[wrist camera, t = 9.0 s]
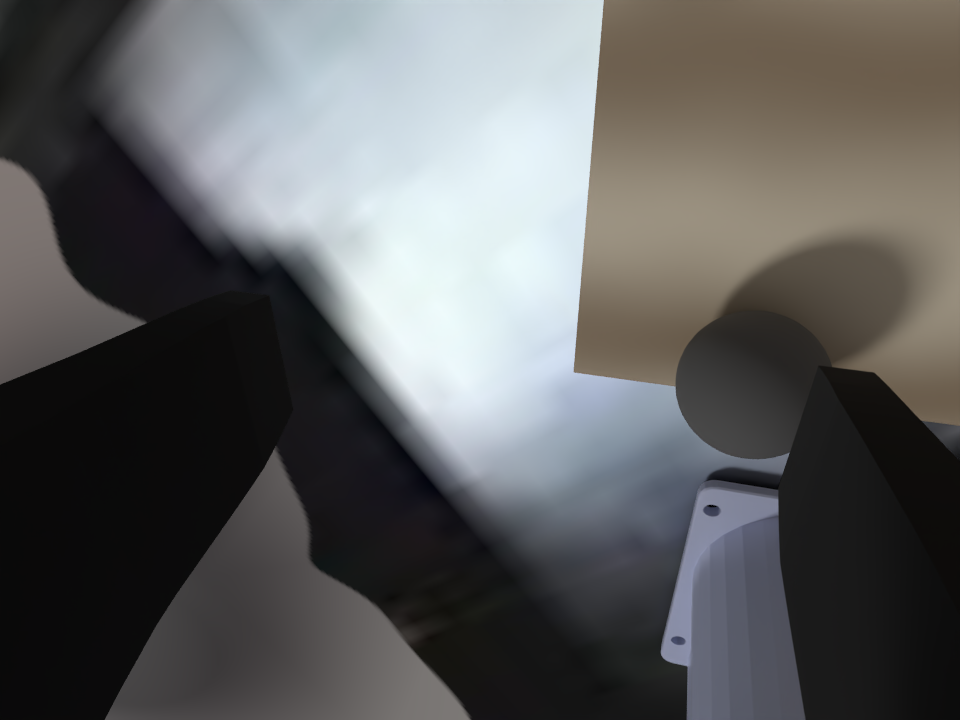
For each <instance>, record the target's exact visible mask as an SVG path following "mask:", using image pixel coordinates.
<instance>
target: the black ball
mask: <svg viewBox="0 0 960 720" xmlns="http://www.w3.org/2000/svg"><path fill="white" fill-rule="evenodd" d="M818 365H820V366H828V367H832V364H831V361H830V359H829V357H828V355H827V352H826V350H825V349H824V347H823V346H822V345H821V343H820V342H819V340H818V339H817V338H816V337H815V336H814V335H813V334H812V333H811V332H810V331H809V330H808V329H806V328H805V327H804V326H802V325H801V324H800V323H798V322H796V321H794V320H793V319H790V318H788V317H786V316H783V315H780V314H777V313H773V312H768V311H758V310H750V311H740V312H735V313H731V314H728V315H725V316H723V317H720V318H718V319H716V320H714V321H712V322H711V323H709V324H708V325H706V326H705V327H703V328H702V329H701V330H700V331H699V332H698V333H697V334H696V335H695V336H694V337H693V338H692V339H691V341H690V342H689V343H688V345H687V346H686V348H685V349H684V351H683V354H682V356H681V358H680V360H679V363H678V367H677V372H676V380H675V384H676V396H677V400H678V404H679V408H680V410H681V412H682V415H683V416H684V418H685V420H686V422H687V423H688V425H689V426H690V428H691V429H692V430H693V431H694V432H695V433H696V434H697V435H698V436H699V437H700V438H701V439H702V440H703V441H704V442H706V443H707V444H708V445H710V446H712V447H713V448H715V449H717V450H719V451H721V452H723V453H725V454H728V455H731V456H735V457H740V458H747V459H767V458H772V457H777V456H781V455H784V454H787V453H789V452H790V451H791V448H792V445H793V441H794V438H795V435H796V432H797V429H798V426H799V423H800V420H801V417H802V414H803V411H804V408H805V405H806V402H807V399H808V396H809V393H810V390H811V387H812V384H813V380H814V377H815V374H816V371H817V368H818Z"/></svg>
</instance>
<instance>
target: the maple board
mask: <svg viewBox="0 0 960 720" xmlns="http://www.w3.org/2000/svg"><path fill="white" fill-rule="evenodd" d="M750 310H758V311H768V312H773V313H777V314H780V315H783V316H786V317H788V318H790V319H793V320H794V321H796V322H798V323H800V324H801V325H802V326H804V327H805V328H806V329H808V330H809V331H810V332H811V333H812V334H813V335H814V336H815V337H816V338H817V339H818V340H819V342H820V343H821V345H822V346H823V347H824V349H825V350H826V352H827V355H828V357H829V359H830V361H831V364H832V367H836V368H844V369H851V370H859V371H867V372H874V373H875V374H877V375H878V376H879V377H880V378H881V379H882V380H883V381H884V382H885V383H886V384H887V385H888V386H889V387H890V388H891V389H892V390H893V391H894V392H895V394H896V395H897V396H898V397H899V398H900V399H901V400H902V401H903V402H904V403H905V404H906V405H907V406H908V407H909V408H910V409H911V410H912V412H913V413H914V414H915V415H916V416H917V417H918V418H919V419H920V420H922V421H929V422H936V423H944V424H951V425H958V426H960V0H604V6H603V18H602V31H601V43H600V55H599V68H598V80H597V92H596V104H595V117H594V129H593V141H592V153H591V166H590V178H589V190H588V203H587V215H586V227H585V239H584V252H583V264H582V276H581V288H580V301H579V313H578V325H577V338H576V350H575V362H574V372H575V373H582V374H590V375H597V376H604V377H611V378H619V379H626V380H633V381H640V382H647V383H655V384H662V385H669V386H676V384H675V380H676V372H677V367H678V363H679V360H680V358H681V356H682V354H683V351H684V349H685V348H686V346H687V345H688V343H689V342H690V341H691V339H692V338H693V337H694V336H695V335H696V334H697V333H698V332H699V331H700V330H701V329H702V328H703V327H705V326H706V325H708V324H709V323H711V322H712V321H714V320H716V319H718V318H720V317H723V316H725V315H728V314H731V313H735V312H740V311H750Z"/></svg>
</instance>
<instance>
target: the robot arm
mask: <svg viewBox="0 0 960 720" xmlns="http://www.w3.org/2000/svg"><path fill="white" fill-rule="evenodd" d="M292 411H293V406H292V401H291V397H290V392H289V387H288V382H287V378H286V373H285V368H284V364H283V359H282V354H281V349H280V345H279V340H278V335H277V330H276V326H275V321H274V316H273V312H272V307H271V302H270V297H269V295H261V294H253V293H246V292H238V291H227V292H224V293H221V294H218V295H215V296H212V297H209V298H206V299H204V300H201V301H199V302H196V303H193V304H191V305H188V306H186V307H184V308H181V309H179V310H176V311H174V312H172V313H169V314H167V315H165V316H162V317H160V318H158V319H155V320H153V321H151V322H149V323H146V324H144V325H142V326H139V327H137V328H135V329H132V330H130V331H128V332H126V333H123V334H121V335H119V336H116V337H114V338H112V339H110V340H107V341H105V342H103V343H100V344H98V345H96V346H94V347H91V348H89V349H87V350H84V351H82V352H80V353H77V354H75V355H73V356H70V357H68V358H65V359H63V360H60V361H58V362H55V363H53V364H50V365H48V366H46V367H43V368H40V369H38V370H35V371H33V372H31V373H28V374H25V375H23V376H20V377H18V378H16V379H13V380H11V381H8V382H6V383H3V384H1V385H0V720H105V718H106V716H107V714H108V712H109V710H110V708H111V706H112V705H113V702H114V700H115V699H116V697H117V695H118V693H119V691H120V689H121V687H122V686H123V684H124V682H125V680H126V679H127V677H128V675H129V673H130V671H131V669H132V668H133V666H134V664H135V662H136V661H137V659H138V657H139V655H140V654H141V652H142V650H143V648H144V646H145V645H146V643H147V641H148V639H149V637H150V636H151V634H152V632H153V630H154V628H155V627H156V625H157V623H158V622H159V620H160V619H161V617H162V616H163V614H164V613H165V611H166V609H167V608H168V606H169V605H170V603H171V602H172V600H173V599H174V597H175V595H176V594H177V592H178V591H179V590H180V588H181V587H182V585H183V584H184V583H185V581H186V580H187V578H188V577H189V575H190V574H191V572H192V571H193V570H194V568H195V567H196V565H197V564H198V562H199V561H200V560H201V558H202V557H203V555H204V554H205V553H206V551H207V550H208V548H209V547H210V545H211V544H212V543H213V541H214V540H215V538H216V537H217V536H218V534H219V533H220V531H221V530H222V528H223V527H224V525H225V524H226V523H227V521H228V520H229V518H230V517H231V516H232V514H233V513H234V511H235V510H236V508H237V507H238V505H239V504H240V503H241V501H242V500H243V498H244V497H245V495H246V494H247V492H248V491H249V489H250V488H251V487H252V485H253V484H254V482H255V481H256V479H257V477H258V476H259V475H260V473H261V472H262V470H263V469H264V467H265V465H266V463H267V461H268V459H269V457H270V456H271V454H272V452H273V450H274V448H275V446H276V444H277V442H278V440H279V438H280V436H281V434H282V432H283V430H284V428H285V426H286V424H287V421H288V419H289V417H290V415H291V413H292ZM707 505H716V506H717V507H708V506H707ZM661 655H662V657H663V658H664V659H665V660H667V661H669V662H672V663H676V664H680V665H685V666H688V684H687V720H960V461H959V460H958V459H957V458H956V457H955V456H954V455H953V454H952V453H951V452H950V451H949V450H948V449H947V448H946V447H945V446H944V444H943V443H942V442H941V441H940V440H939V439H938V438H937V437H936V436H935V435H934V434H933V433H932V432H931V431H930V430H929V429H928V428H927V426H926V425H925V424H924V423H923V422H922V421H921V420H920V419H919V418H918V417H917V416H916V415H915V414H914V413H913V412H912V410H911V409H910V408H909V407H908V406H907V405H906V404H905V403H904V402H903V401H902V400H901V399H900V398H899V397H898V396H897V395H896V394H895V392H894V391H893V390H892V389H891V388H890V387H889V386H888V385H887V384H886V383H885V382H884V381H883V380H882V379H881V378H880V377H879V376H878V375H877V374H875V373H874V372H867V371H859V370H851V369H844V368H836V367H828V366H820V365H818V368H817V371H816V374H815V377H814V380H813V384H812V387H811V390H810V393H809V396H808V399H807V402H806V405H805V408H804V411H803V414H802V417H801V420H800V423H799V426H798V429H797V432H796V435H795V438H794V441H793V445H792V448H791V451H790V454H789V457H788V460H787V463H786V466H785V469H784V472H783V475H782V478H781V481H780V484H779V487H778V490H775V489H769V488H762V487H756V486H750V485H744V484H738V483H732V482H726V481H720V480H709V481H705V482H704V483H702V484H701V485H700V487H699V489H698V492H697V497H696V501H695V505H694V509H693V514H692V518H691V522H690V526H689V530H688V535H687V539H686V543H685V547H684V552H683V556H682V560H681V564H680V569H679V573H678V577H677V581H676V585H675V590H674V594H673V598H672V602H671V607H670V611H669V615H668V619H667V624H666V628H665V632H664V636H663V640H662V645H661Z"/></svg>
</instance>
